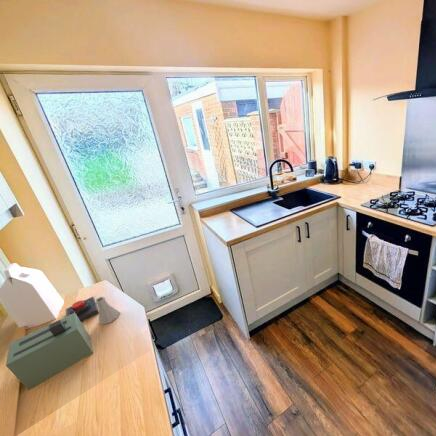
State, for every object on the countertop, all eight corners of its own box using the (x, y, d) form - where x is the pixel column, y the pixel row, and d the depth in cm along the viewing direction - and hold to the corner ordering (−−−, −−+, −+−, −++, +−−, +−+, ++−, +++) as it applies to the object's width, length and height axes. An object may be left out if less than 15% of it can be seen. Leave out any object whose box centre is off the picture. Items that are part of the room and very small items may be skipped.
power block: (68, 312, 107) (63, 305, 106) (95, 300, 113) (91, 293, 112) (69, 327, 99) (64, 320, 97) (99, 313, 105) (95, 306, 103)
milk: (33, 312, 110) (-2, 264, 99) (64, 301, 115) (34, 255, 104) (21, 331, 100) (-20, 280, 89) (56, 318, 105) (21, 269, 94)
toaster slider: (54, 332, 81) (48, 325, 80) (65, 327, 83) (60, 319, 81) (54, 336, 80) (48, 329, 78) (66, 331, 81) (60, 323, 80)
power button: (73, 307, 105) (71, 304, 104) (84, 302, 107) (82, 298, 106) (74, 311, 102) (72, 308, 101) (85, 306, 104) (83, 303, 104)
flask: (95, 323, 100) (84, 305, 96) (110, 310, 106) (100, 292, 102) (109, 325, 98) (98, 307, 94) (124, 311, 104) (114, 293, 100)
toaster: (30, 366, 84) (9, 342, 79) (89, 335, 94) (74, 312, 89) (28, 390, 77) (5, 365, 72) (93, 353, 87) (77, 328, 82)
